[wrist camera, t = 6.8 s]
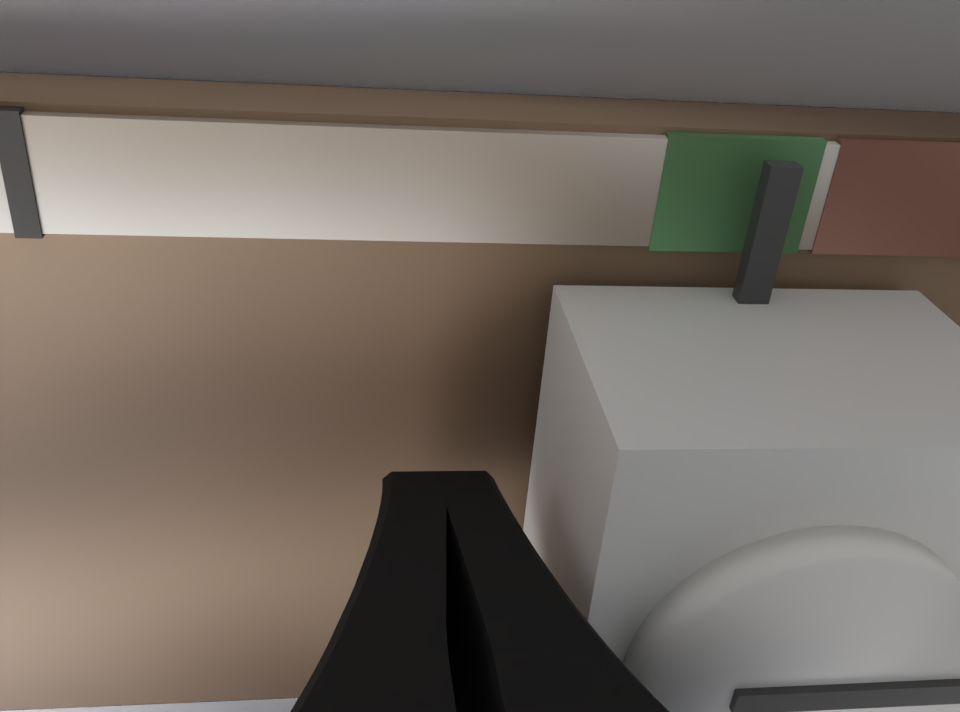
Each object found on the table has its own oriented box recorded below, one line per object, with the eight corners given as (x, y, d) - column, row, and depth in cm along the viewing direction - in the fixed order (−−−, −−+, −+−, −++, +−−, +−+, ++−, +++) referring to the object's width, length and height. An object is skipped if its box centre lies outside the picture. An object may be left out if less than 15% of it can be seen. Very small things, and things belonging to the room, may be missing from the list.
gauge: (970, 604, 16) (1144, 833, 12) (511, 620, 15) (558, 874, 11) (1178, 168, 12) (1522, 321, 8) (570, 147, 11) (670, 311, 7)
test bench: (1165, 612, 19) (1553, 1001, 13) (-213, 660, 15) (-592, 1224, 9) (1466, 134, 14) (2351, 400, 8) (-489, 51, 10) (-1721, 407, 4)
